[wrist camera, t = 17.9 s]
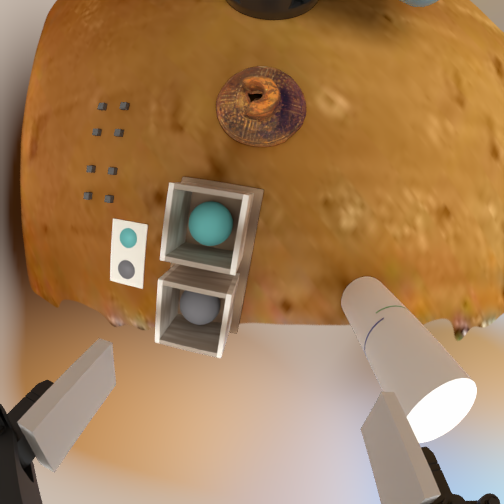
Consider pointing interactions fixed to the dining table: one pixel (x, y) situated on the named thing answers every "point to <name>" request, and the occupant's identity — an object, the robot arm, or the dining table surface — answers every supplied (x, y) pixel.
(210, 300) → the ball charcoal
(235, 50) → the dining table surface
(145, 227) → the dot card
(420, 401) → the cylindrical container
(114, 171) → the small grey cubes
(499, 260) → the dining table surface
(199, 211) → the ball teal
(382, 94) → the dining table surface
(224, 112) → the brown patterned pot lid
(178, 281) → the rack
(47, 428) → the robot arm
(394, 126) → the dining table surface
